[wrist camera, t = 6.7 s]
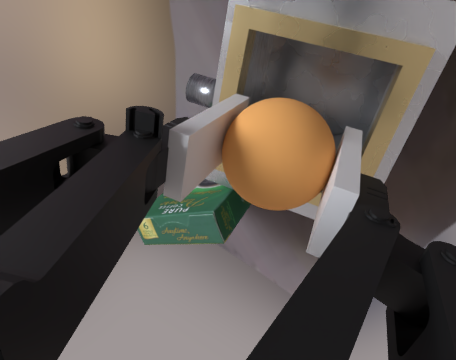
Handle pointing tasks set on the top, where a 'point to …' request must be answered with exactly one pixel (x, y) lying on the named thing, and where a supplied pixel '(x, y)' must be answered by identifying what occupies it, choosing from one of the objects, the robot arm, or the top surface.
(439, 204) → the top surface
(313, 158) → the bead
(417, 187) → the top surface
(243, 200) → the coffee box
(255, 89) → the metal box
